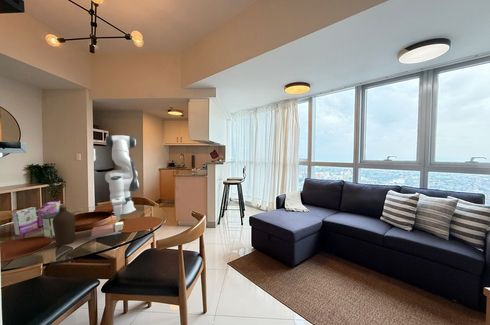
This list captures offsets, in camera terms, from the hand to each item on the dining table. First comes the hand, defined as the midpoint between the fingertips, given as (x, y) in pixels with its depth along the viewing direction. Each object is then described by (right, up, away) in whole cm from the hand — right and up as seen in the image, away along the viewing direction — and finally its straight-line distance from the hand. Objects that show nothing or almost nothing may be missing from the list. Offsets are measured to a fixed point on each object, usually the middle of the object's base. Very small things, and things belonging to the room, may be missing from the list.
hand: (119, 217), depth 147 cm
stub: (-1, -9, +1) cm, 9 cm away
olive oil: (-24, -12, -16) cm, 31 cm away
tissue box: (-43, -11, -4) cm, 44 cm away
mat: (-3, -10, 0) cm, 10 cm away
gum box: (-67, -8, +19) cm, 70 cm away
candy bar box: (-65, -10, -1) cm, 66 cm away
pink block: (-9, -10, -3) cm, 13 cm away
